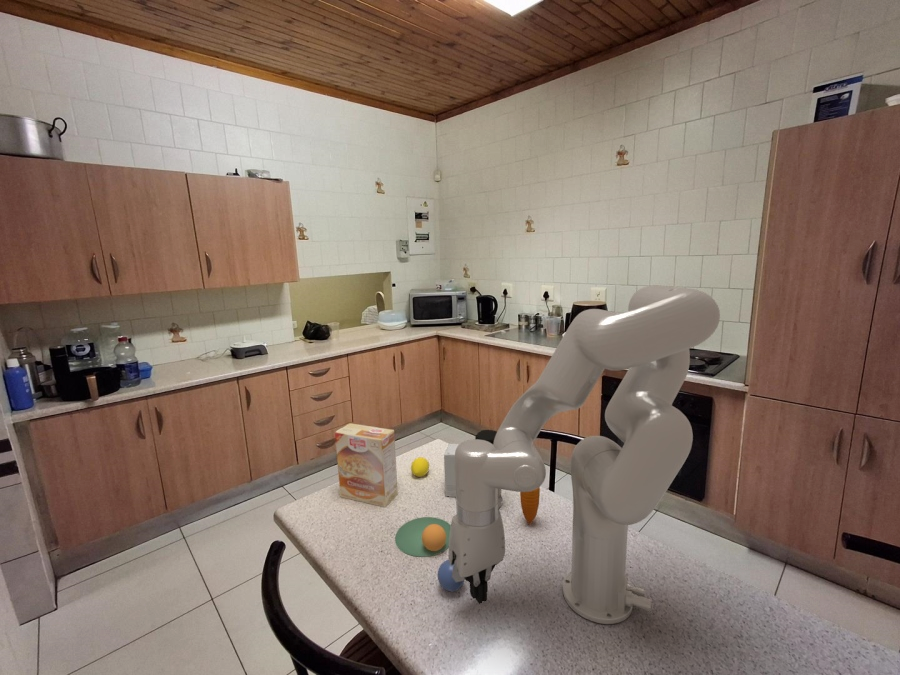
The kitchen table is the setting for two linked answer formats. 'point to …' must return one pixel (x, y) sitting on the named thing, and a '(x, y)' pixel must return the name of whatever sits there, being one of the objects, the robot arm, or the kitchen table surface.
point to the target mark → (419, 536)
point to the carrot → (530, 504)
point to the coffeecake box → (367, 464)
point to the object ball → (434, 537)
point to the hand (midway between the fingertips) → (478, 597)
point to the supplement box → (450, 470)
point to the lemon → (420, 466)
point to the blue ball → (448, 577)
